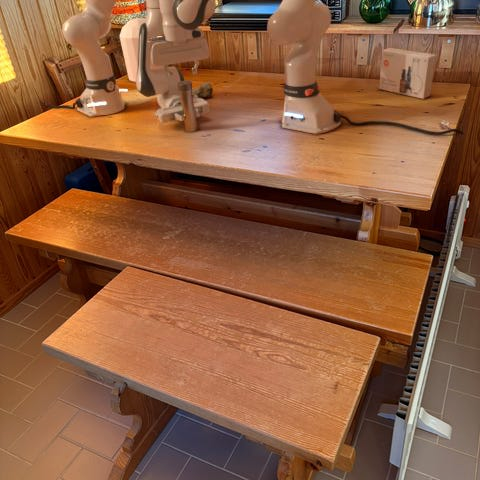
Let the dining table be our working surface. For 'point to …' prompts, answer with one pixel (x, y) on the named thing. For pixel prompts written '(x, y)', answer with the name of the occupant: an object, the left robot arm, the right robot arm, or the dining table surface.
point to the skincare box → (407, 72)
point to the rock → (203, 90)
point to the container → (132, 46)
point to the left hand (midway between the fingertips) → (190, 117)
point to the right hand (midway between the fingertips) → (183, 75)
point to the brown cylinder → (188, 110)
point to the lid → (184, 85)
